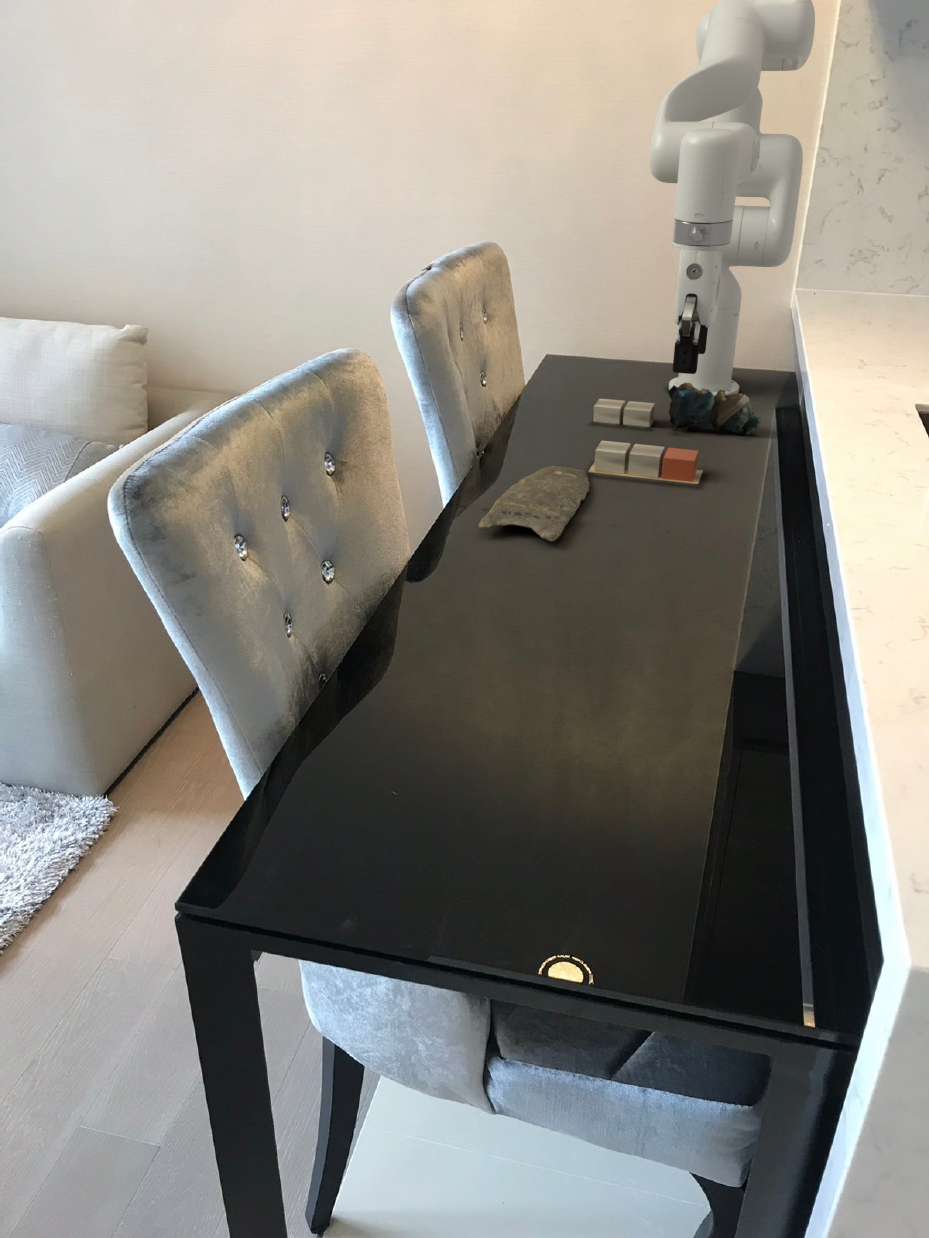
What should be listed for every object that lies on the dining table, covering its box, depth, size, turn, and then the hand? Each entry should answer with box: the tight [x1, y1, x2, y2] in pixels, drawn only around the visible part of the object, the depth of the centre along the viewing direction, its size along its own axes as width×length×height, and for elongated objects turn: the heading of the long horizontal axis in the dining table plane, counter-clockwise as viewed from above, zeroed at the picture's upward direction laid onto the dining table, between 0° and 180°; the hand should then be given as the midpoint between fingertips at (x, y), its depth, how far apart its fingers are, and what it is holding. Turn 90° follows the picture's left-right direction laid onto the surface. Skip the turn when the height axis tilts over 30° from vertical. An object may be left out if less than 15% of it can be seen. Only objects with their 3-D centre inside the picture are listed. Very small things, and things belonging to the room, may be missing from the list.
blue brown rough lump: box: [668, 383, 762, 436], centre depth 161 cm, size 9×8×15 cm
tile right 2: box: [628, 443, 666, 478], centre depth 146 cm, size 4×4×3 cm
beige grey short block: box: [592, 398, 626, 425], centre depth 168 cm, size 4×4×3 cm
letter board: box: [588, 461, 704, 485], centre depth 147 cm, size 6×16×1 cm, turn 71°
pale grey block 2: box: [622, 400, 656, 428], centre depth 166 cm, size 4×4×3 cm
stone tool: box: [478, 465, 590, 542], centre depth 136 cm, size 11×3×25 cm
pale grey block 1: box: [594, 440, 632, 474], centre depth 148 cm, size 4×4×3 cm
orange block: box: [662, 447, 700, 481], centre depth 145 cm, size 4×4×3 cm
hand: (689, 362), depth 140 cm, fingers open, 9 cm apart
